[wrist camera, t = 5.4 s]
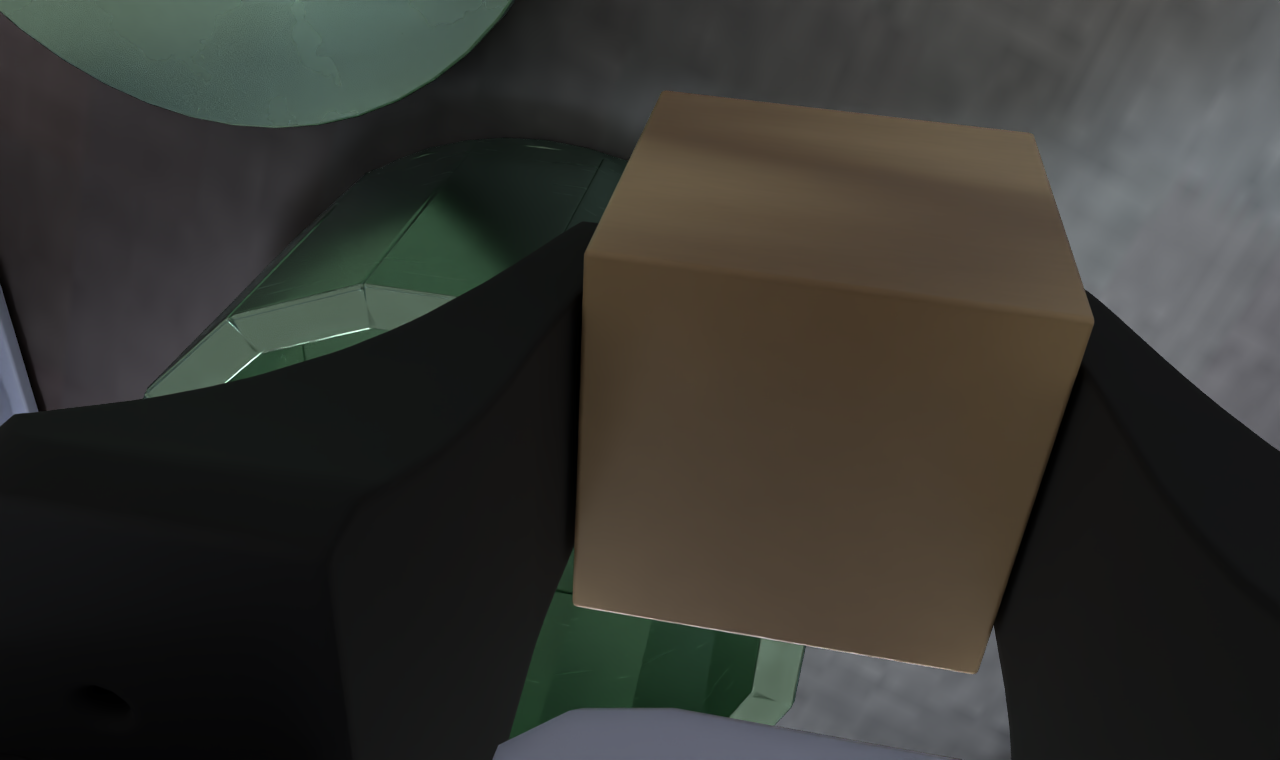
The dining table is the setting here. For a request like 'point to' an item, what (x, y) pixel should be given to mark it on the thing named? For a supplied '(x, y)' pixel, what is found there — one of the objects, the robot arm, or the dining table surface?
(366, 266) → the jar
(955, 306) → the block
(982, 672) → the dining table surface
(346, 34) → the lid
